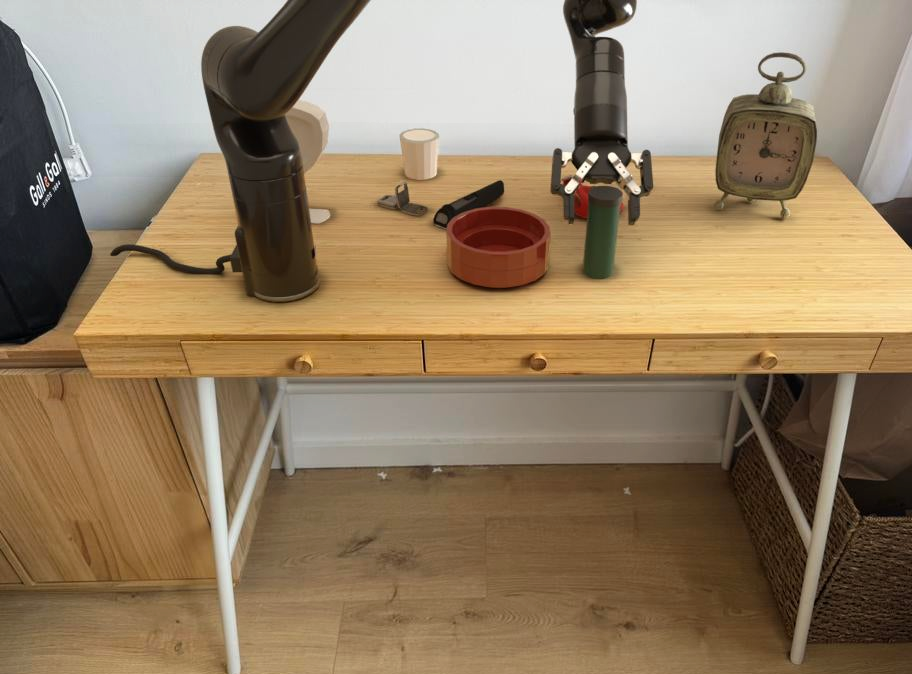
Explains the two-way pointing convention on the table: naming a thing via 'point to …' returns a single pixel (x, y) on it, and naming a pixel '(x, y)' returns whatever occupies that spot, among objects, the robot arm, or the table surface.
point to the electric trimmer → (469, 203)
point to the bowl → (498, 246)
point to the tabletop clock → (766, 143)
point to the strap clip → (401, 201)
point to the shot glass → (420, 153)
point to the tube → (601, 231)
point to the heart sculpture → (310, 140)
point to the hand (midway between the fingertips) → (601, 223)
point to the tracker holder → (581, 198)
